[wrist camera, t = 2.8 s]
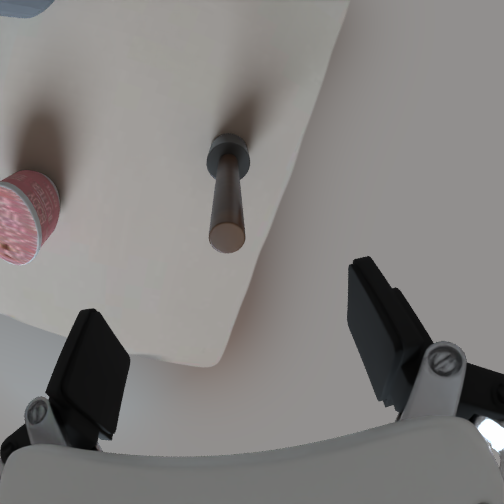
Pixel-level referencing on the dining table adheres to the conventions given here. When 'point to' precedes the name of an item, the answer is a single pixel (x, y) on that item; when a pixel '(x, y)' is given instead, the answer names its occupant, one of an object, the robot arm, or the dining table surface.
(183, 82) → the dining table surface
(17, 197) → the container
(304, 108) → the dining table surface
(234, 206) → the brush
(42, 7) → the grey pen holder
